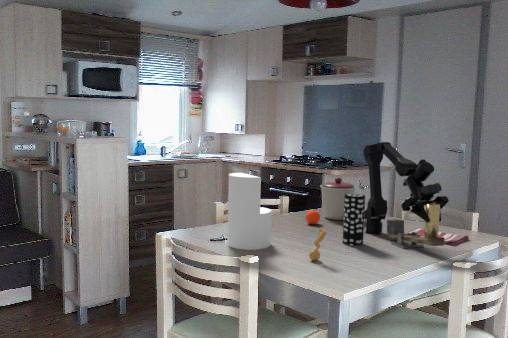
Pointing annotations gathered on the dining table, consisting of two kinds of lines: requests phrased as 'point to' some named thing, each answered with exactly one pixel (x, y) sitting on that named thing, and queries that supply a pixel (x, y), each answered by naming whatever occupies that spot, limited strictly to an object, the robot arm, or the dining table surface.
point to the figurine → (315, 253)
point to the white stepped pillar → (247, 214)
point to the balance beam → (398, 227)
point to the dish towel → (448, 238)
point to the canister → (335, 198)
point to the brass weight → (432, 220)
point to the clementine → (312, 217)
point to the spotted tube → (353, 219)
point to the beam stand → (406, 242)
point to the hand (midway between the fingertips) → (434, 221)
